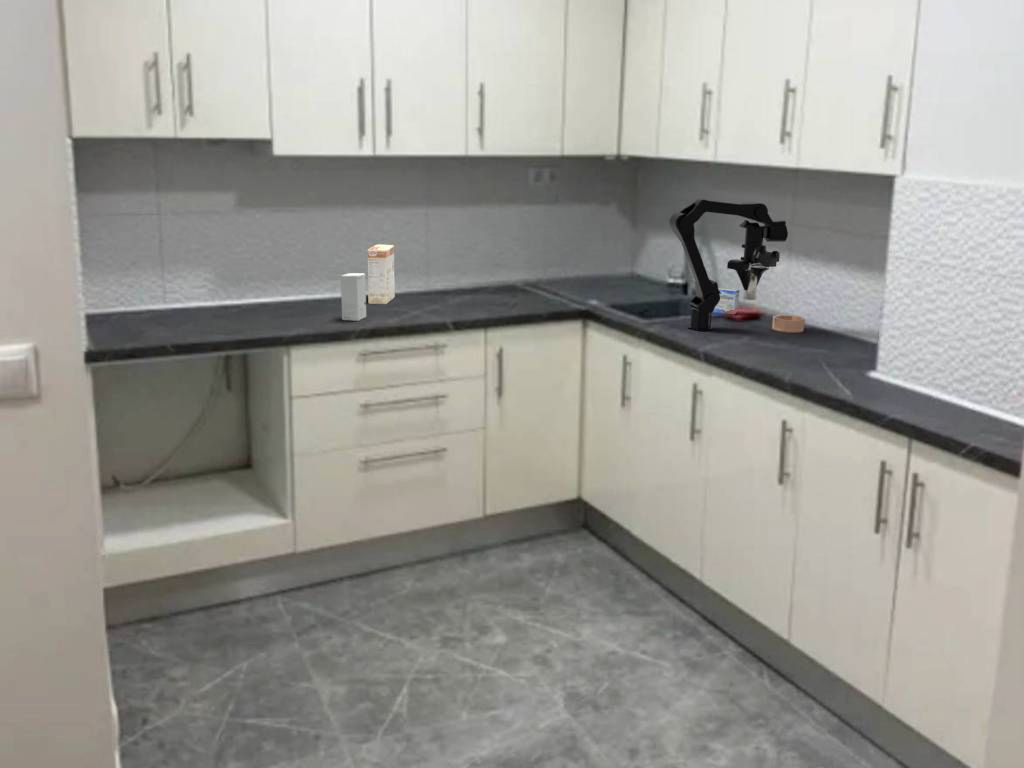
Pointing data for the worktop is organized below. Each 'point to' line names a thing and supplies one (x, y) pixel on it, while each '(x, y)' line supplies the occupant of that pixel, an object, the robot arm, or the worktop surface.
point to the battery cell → (751, 288)
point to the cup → (788, 323)
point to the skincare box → (353, 296)
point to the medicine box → (727, 301)
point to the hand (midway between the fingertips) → (750, 289)
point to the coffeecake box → (381, 274)
